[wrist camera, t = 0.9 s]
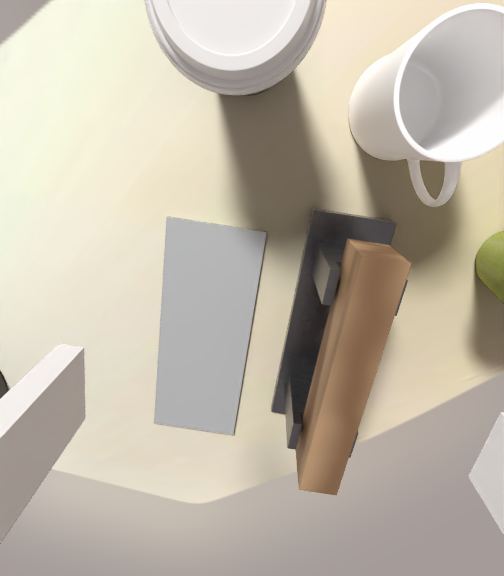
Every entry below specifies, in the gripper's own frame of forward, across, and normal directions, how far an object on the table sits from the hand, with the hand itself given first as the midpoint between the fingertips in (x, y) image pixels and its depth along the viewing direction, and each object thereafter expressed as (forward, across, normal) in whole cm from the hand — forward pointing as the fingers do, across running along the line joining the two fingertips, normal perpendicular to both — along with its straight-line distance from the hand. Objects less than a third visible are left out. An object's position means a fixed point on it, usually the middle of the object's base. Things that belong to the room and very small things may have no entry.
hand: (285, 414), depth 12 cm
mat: (+27, -6, -13) cm, 30 cm away
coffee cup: (+27, -5, +15) cm, 31 cm away
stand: (+27, +7, -9) cm, 29 cm away
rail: (+20, +7, -9) cm, 23 cm away
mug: (+27, +9, +11) cm, 30 cm away
